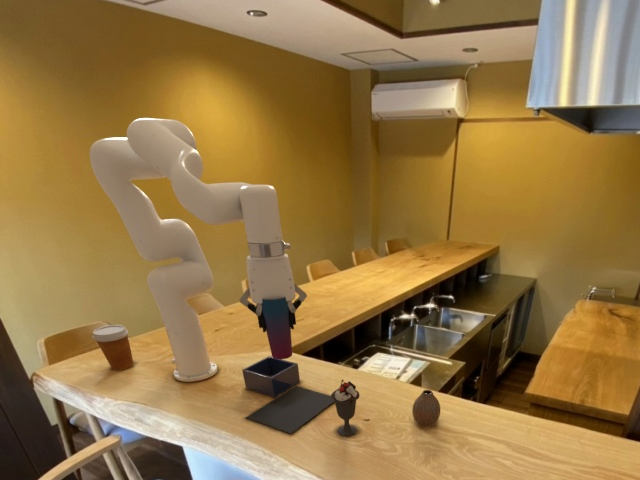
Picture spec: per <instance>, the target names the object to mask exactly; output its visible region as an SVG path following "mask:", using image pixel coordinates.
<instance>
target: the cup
mask: <svg viewBox="0 0 640 480" xmlns="http://www.w3.org/2000/svg"><path fill="white" fill-rule="evenodd" d="M262 302H263V303H262V304H261V305H262V314H263V316H264V321H265V327H266V331H265V333H266V337H267V341H268V344H269V348H270V353H271V357H273V358H275V359H282V360H286V359H290V358H291V357H292V356H293V346H292V343H293V342H292V329H291V327H290V318H289V307H288V302H287V301H286V297H284V298H280V299H271V300H269V299H262Z"/></svg>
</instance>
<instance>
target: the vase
mask: <svg viewBox="0 0 640 480" xmlns="http://www.w3.org/2000/svg"><path fill="white" fill-rule="evenodd" d="M411 413H412V417H413V421H415V422H416V424H418V425H419V426H421V427H424V428H428V427H431V426H434V425H435V424H436V423H437V422H438V421H439V418H440V416H441V404H440V402H439V400H438V398H437V397H436V396H435V395H434V393H433V391H432V390H431V389H424V390H422V392H421V393H420V394H419V395H418V396H417V397H416V398H415V400H414V402H413V404H412V412H411Z"/></svg>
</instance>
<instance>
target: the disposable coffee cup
mask: <svg viewBox="0 0 640 480" xmlns="http://www.w3.org/2000/svg"><path fill="white" fill-rule="evenodd" d="M92 334H93V335H92V338H93V339H94V340H95V341H96V343H97V345H98V347H99V348H100V350H101V352H102V354H103V356H104V357H105V359H106V360H107V363H108V365H109V366H110V368H111V370H115V371H122V370H126V369H130V368H131V367H133V366H134V364H135V363H134V358H133V354H132V349H131V345H130V340H129V330H128V329H126V327H125V326H124V325H121V324H110V325H105V326H101V327H98V328H96V329H94V330H93V331H92Z"/></svg>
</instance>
